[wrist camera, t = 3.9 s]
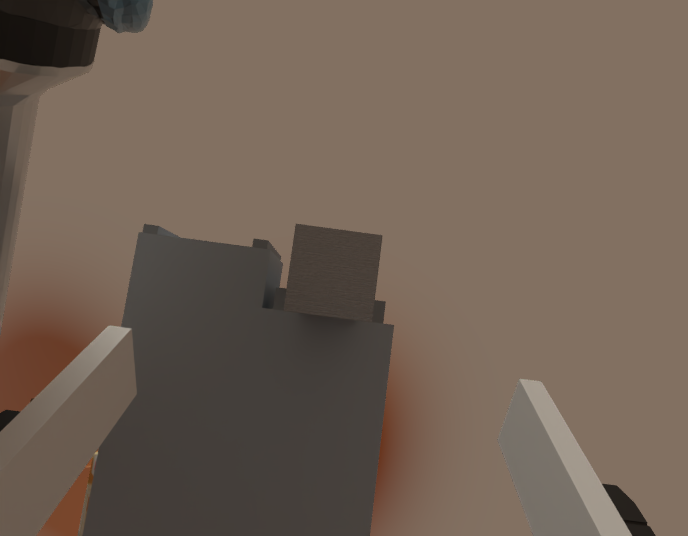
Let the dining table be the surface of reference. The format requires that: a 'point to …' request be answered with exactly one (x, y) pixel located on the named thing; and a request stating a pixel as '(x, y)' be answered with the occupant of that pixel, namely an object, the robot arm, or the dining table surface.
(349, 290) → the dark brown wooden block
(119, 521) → the stand
